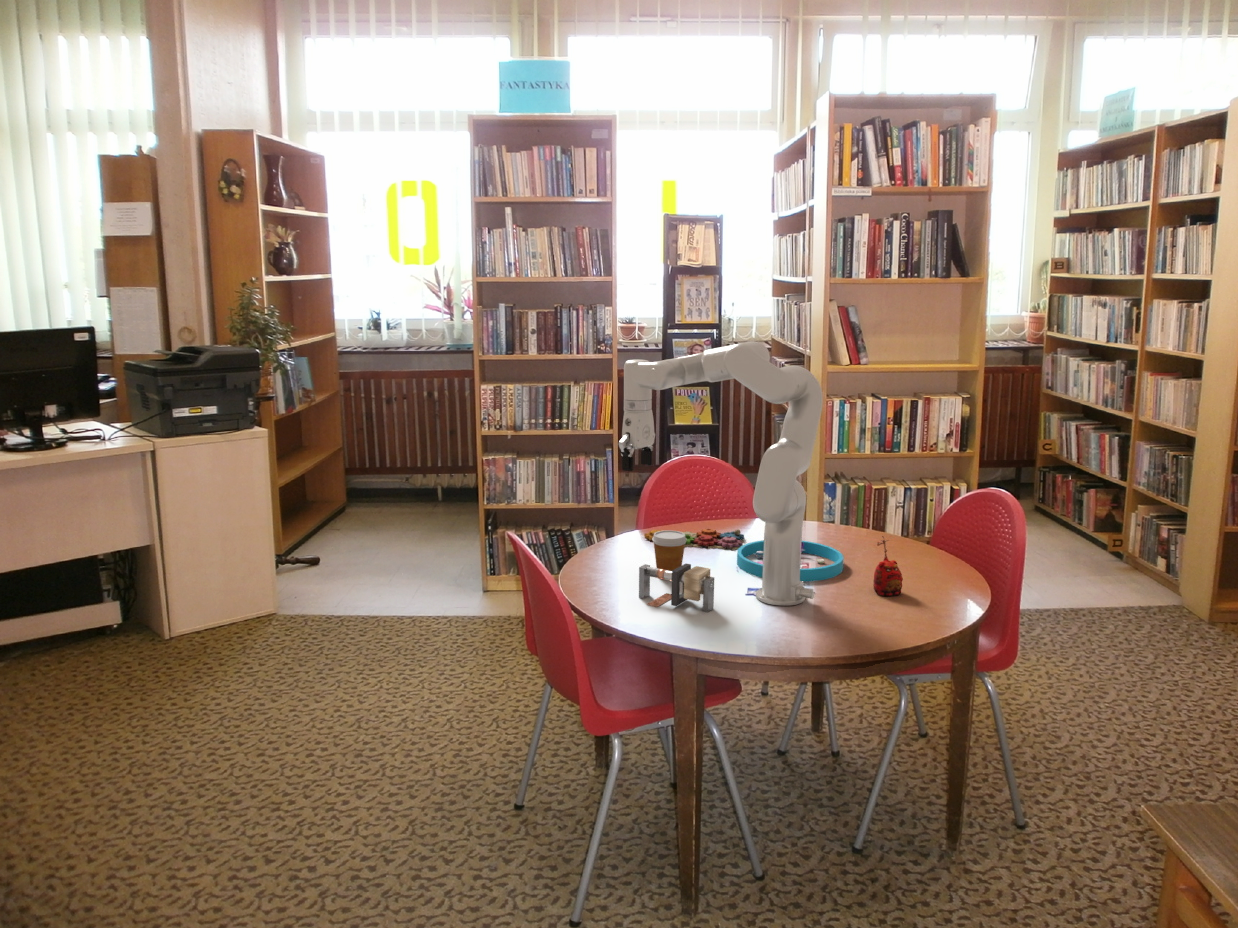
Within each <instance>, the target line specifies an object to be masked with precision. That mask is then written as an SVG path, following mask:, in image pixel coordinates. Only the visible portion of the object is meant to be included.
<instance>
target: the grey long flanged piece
mask: <svg viewBox="0 0 1238 928" xmlns="http://www.w3.org/2000/svg"><path fill="white" fill-rule="evenodd" d="M651 578H655V579H661V580H664V581H665V580H666V581H670V582H672V571H668V570H664V569H658V568H657V567H652V566H651V565H649V564H645V563H644V564H643V565H641V566H639V568H638V598H639V599H646V598H648V597H650V595H651V590H650V589H651ZM683 583H684V574H683V575H681V576H680V584H683ZM701 587H703V594H702V612H705V613H709V612H712V610H714V608H715V607H714V606H715V605H714V603H715V602H714V601H715V577H714V576H710V577H707V578H703V579H701ZM668 601H671V593H669V592H666V593H664V594H662V595H660V596H659V597H657V598H655V599H653V600H652V601H650V602H648V603H647V604H646V605H647V606H651V607H656V608H658V607H660V606H662V605H663V604H665V603H667V602H668Z"/></svg>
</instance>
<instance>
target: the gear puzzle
mask: <svg viewBox="0 0 1238 928" xmlns="http://www.w3.org/2000/svg"><path fill="white" fill-rule="evenodd" d="M658 531H662V530H661V529H659V530H658V529H653V530H650V531H648V532H646V533H644V539H648V540H649V541H653V540H652V538H653V536H654V533H656V532H658ZM681 532H682V533H684V534H685V537H686V538H687V541H686V543H685V547H688V548H708V549H714V550H715V549H719V550H726V549H731V550H732V551H738V549H739V548H740V547H741V546H742V545H743V543H744V539H745V534H742V533H741V532H742V531H741V530H740V529H738V528H737V529H735V530H733V531H730V532H729V531H727V532H723V533H721V532H720V531H719V532H718V531H716V530H715V529H714V528H704V529H702V530H701V531H697V532H692V531H684V532H683V531H681ZM685 547H684V548H685Z"/></svg>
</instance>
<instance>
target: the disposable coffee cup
mask: <svg viewBox="0 0 1238 928" xmlns="http://www.w3.org/2000/svg"><path fill="white" fill-rule="evenodd" d="M682 532H683V531H678V530H667V529H666V530H661V531H658V532H656V533H654V536H653V538H652V540H651V541H652V543H653V548H654V558H655V565H656V567H655V568H658V569H664V570H668V571H673V570H674V569H676V568H678V567H680V566H682V565H683V560H684V551H685V543H686V541H687V538H686V537H685V534H684V533H682Z"/></svg>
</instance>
